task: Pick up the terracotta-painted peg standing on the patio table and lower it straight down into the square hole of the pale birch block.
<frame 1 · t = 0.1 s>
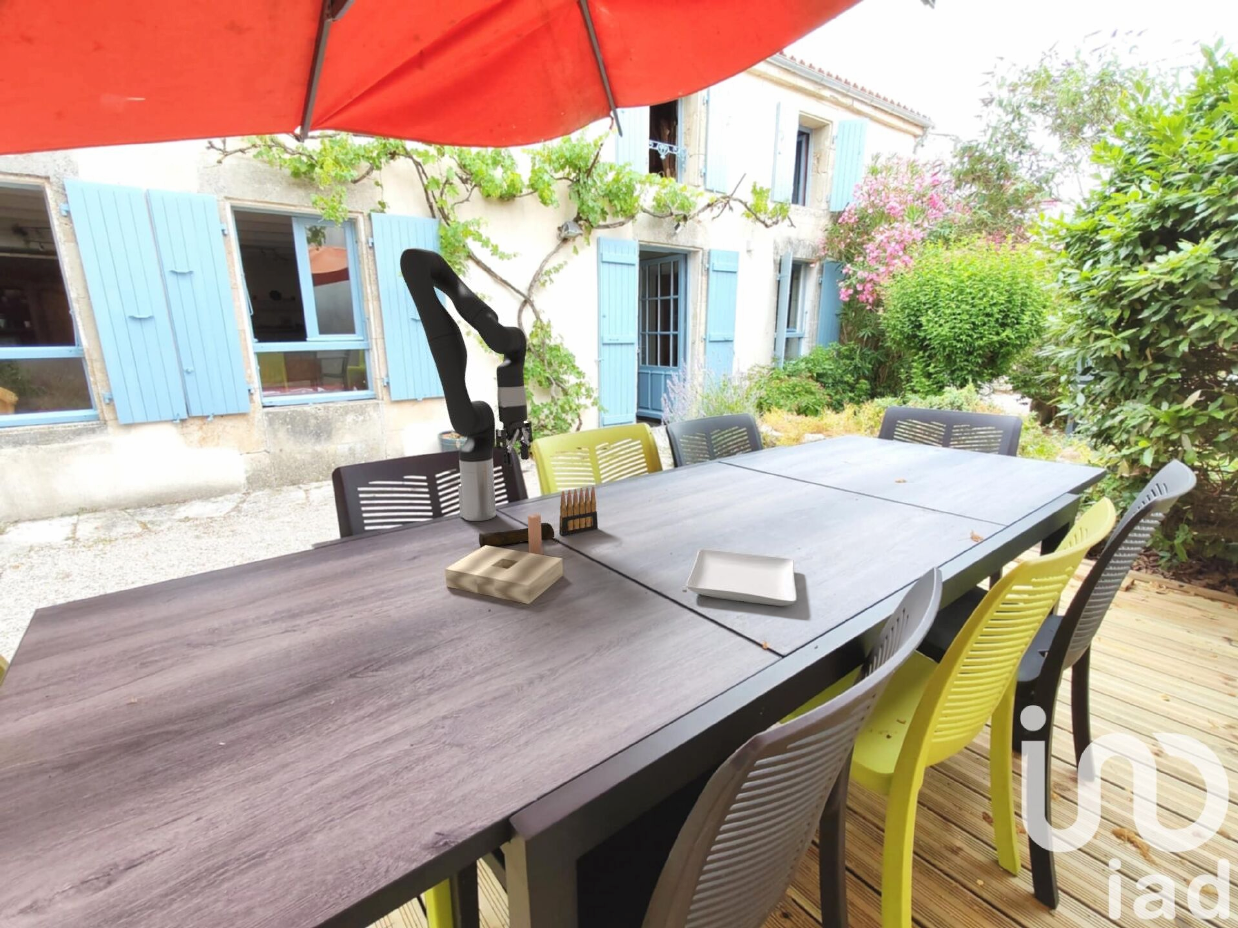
hand: (516, 462, 149), 17 cm above the table, tool pointing down, fingers open, 8 cm apart
ammunition clip: (578, 532, 146), on the table
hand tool: (517, 543, 139), on the table
hole block: (505, 580, 117), on the table
salad plate: (741, 586, 116), on the table
peg: (535, 556, 130), on the table
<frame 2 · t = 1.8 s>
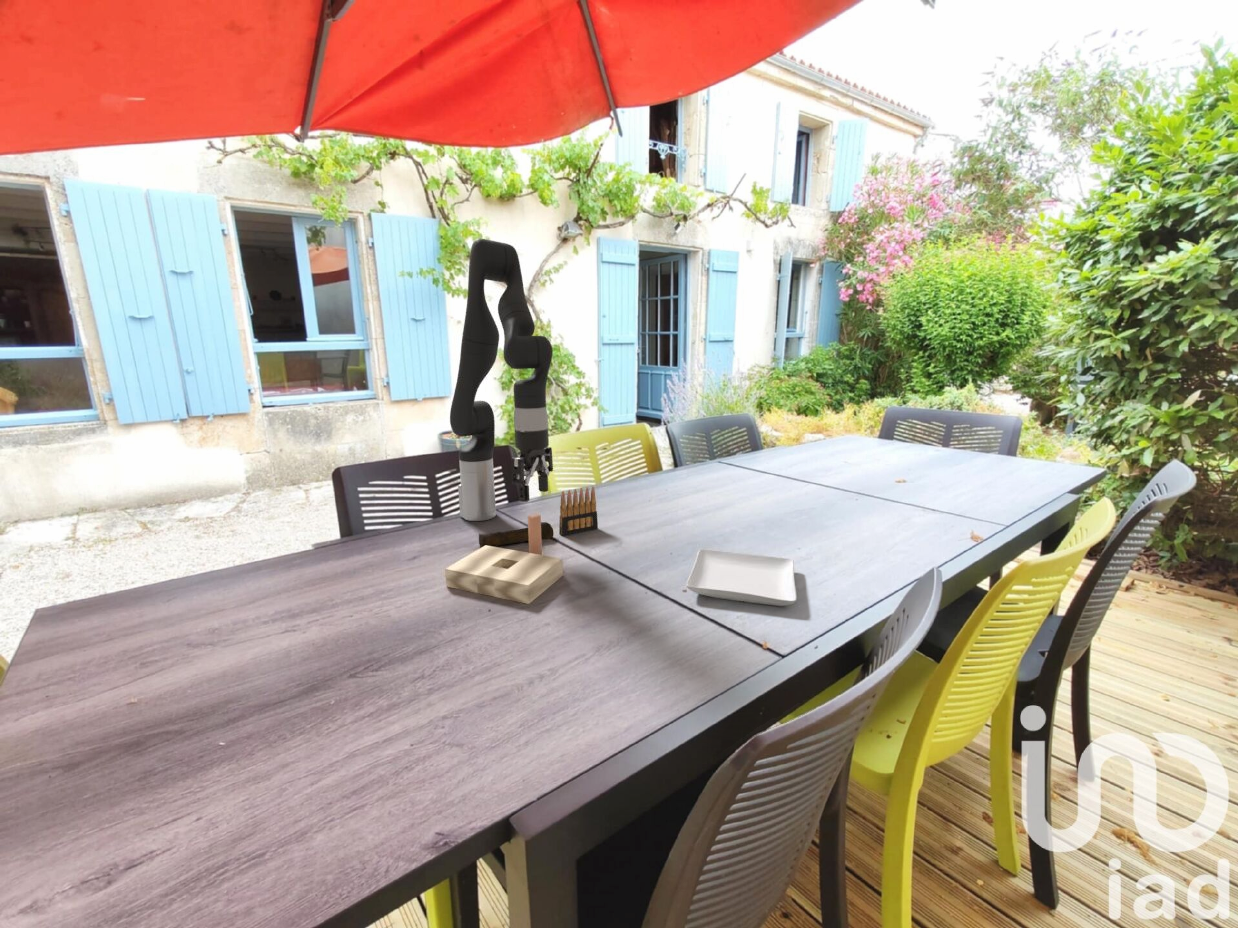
hand: (534, 496, 126), 15 cm above the table, tool pointing down, fingers open, 8 cm apart
nothing on the table moved.
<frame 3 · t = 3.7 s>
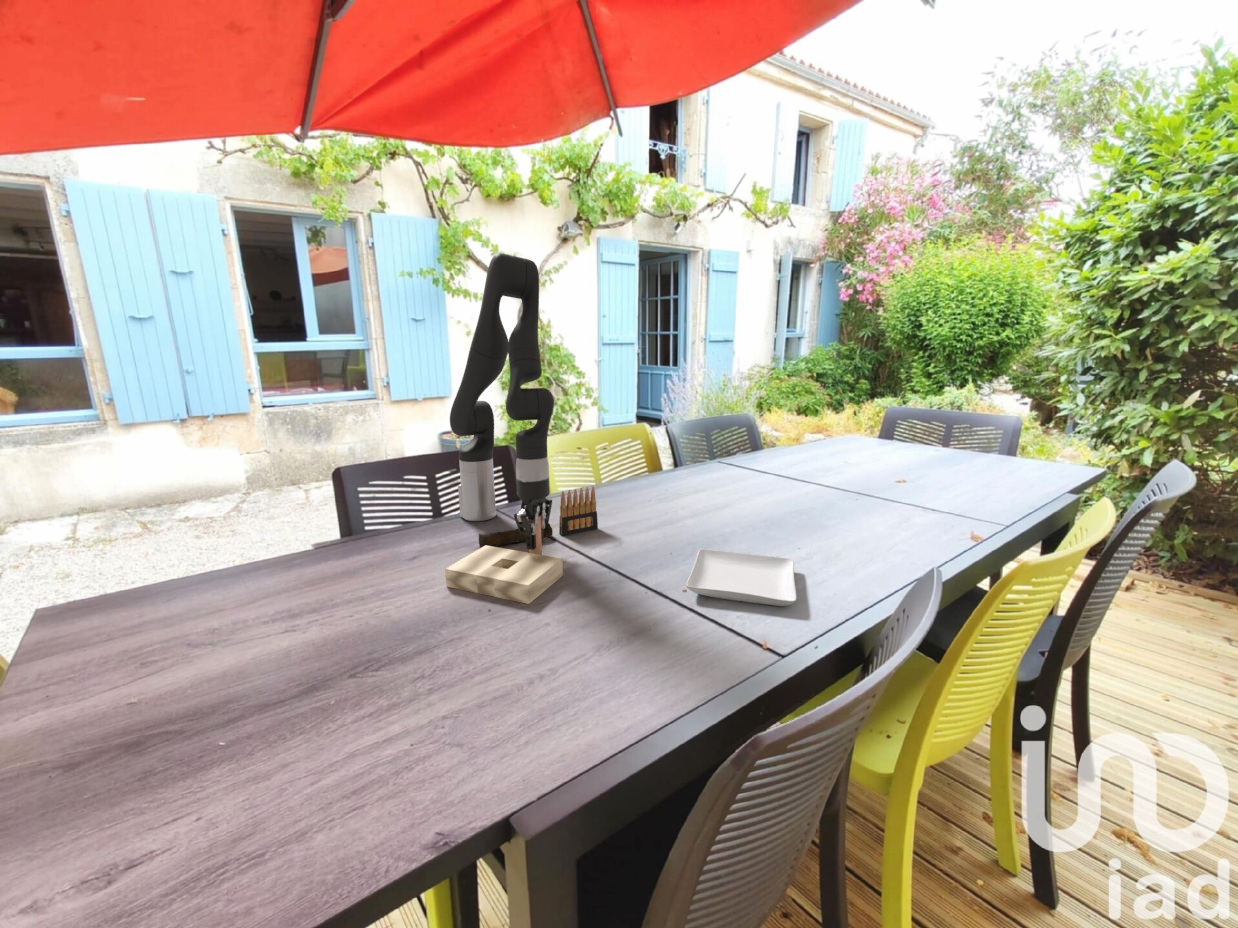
hand: (535, 545, 129), 3 cm above the table, tool pointing down, fingers closed on peg, 3 cm apart
peg: (535, 556, 130), on the table, touching gripper
everything else where it was.
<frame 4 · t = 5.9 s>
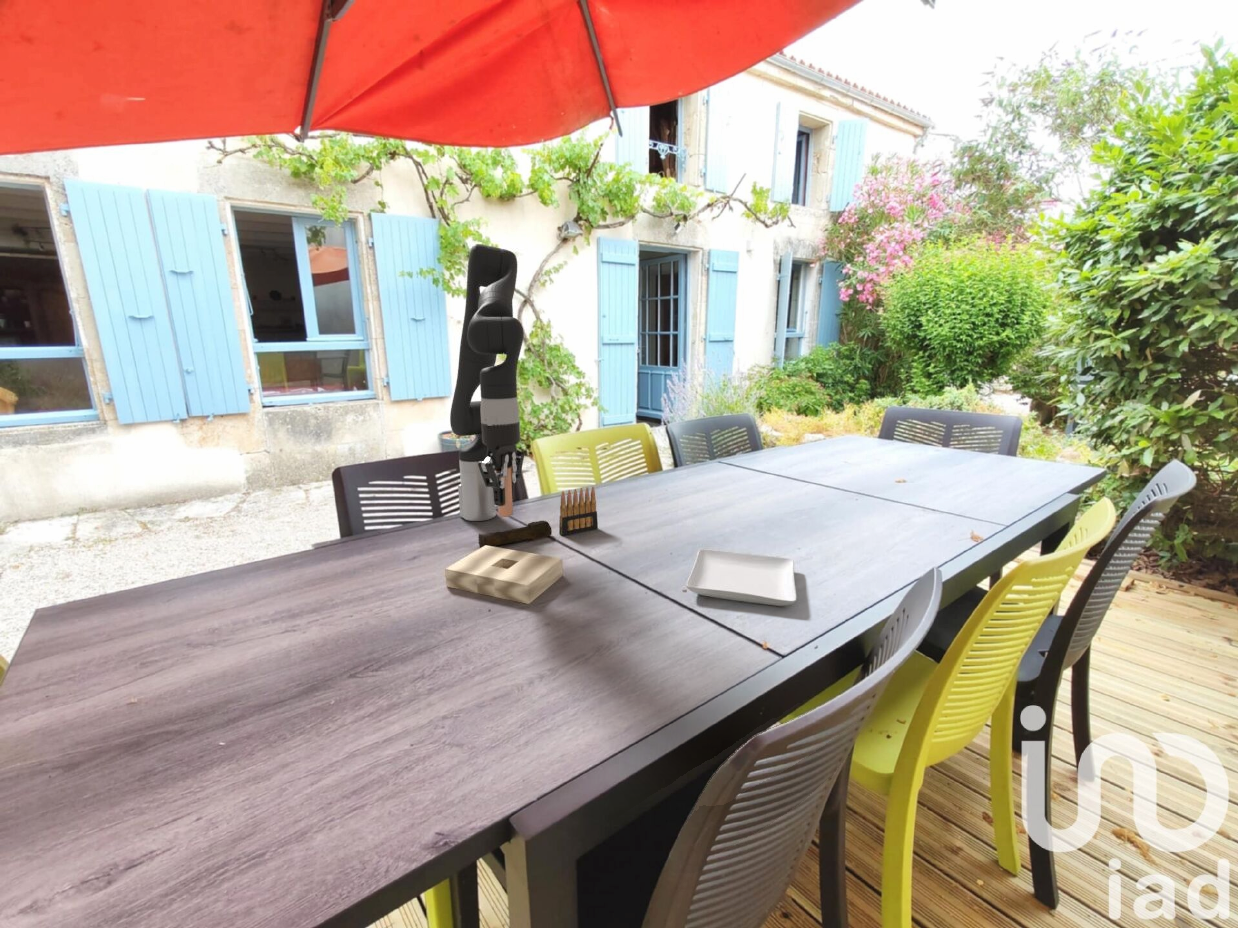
hand: (504, 502, 113), 18 cm above the table, tool pointing down, fingers closed on peg, 3 cm apart
peg: (505, 514, 114), point 15 cm above the table, touching gripper
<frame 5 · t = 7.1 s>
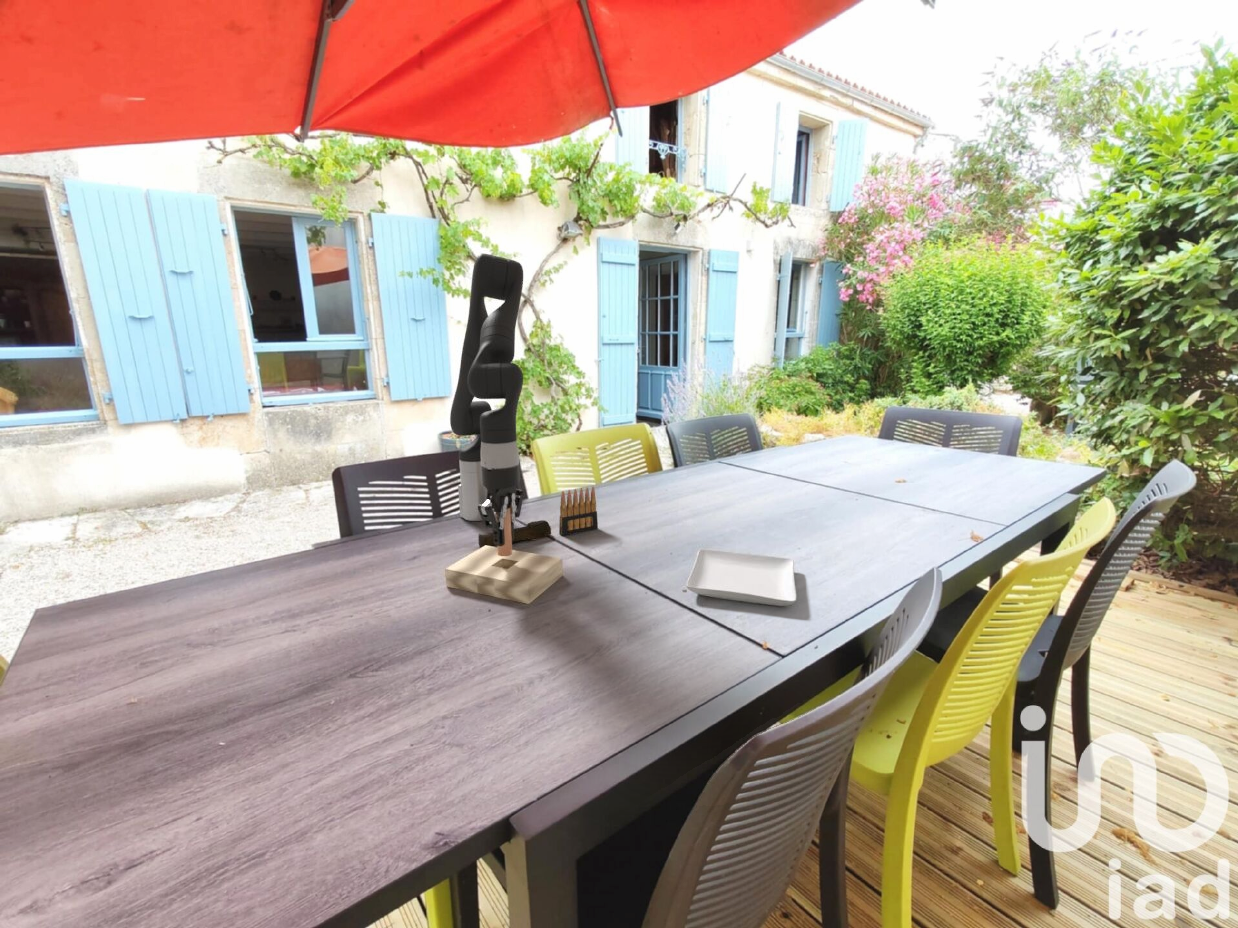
hand: (504, 541, 115), 9 cm above the table, tool pointing down, fingers closed on peg, 3 cm apart
peg: (505, 553, 115), point 6 cm above the table, touching gripper
when the fingers open (5 cm above the table, at t = 8.1 s): peg drops 2 cm, resting in hole block.
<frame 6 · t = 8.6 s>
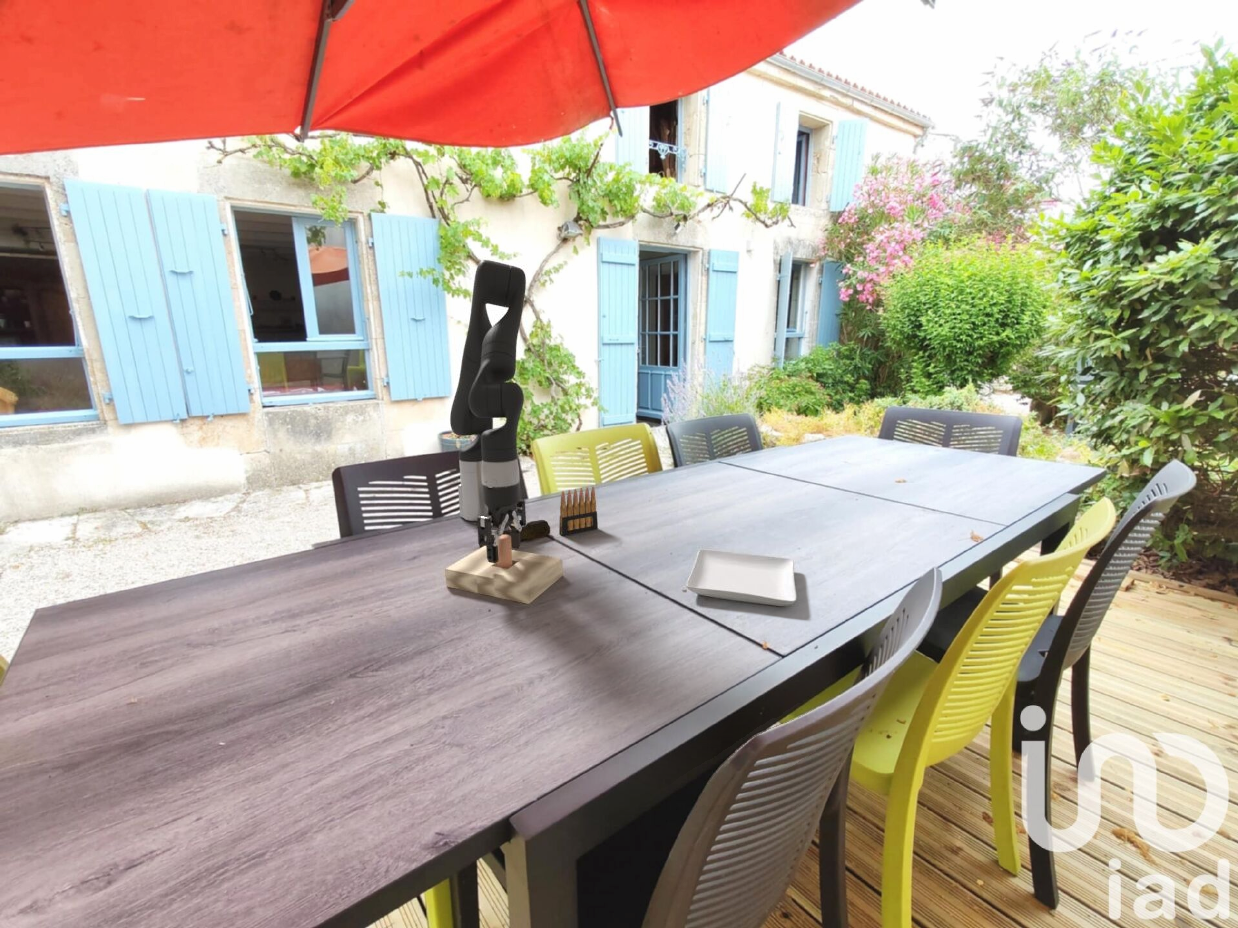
hand: (504, 554, 115), 6 cm above the table, tool pointing down, fingers open, 8 cm apart
peg: (506, 581, 117), resting in hole block
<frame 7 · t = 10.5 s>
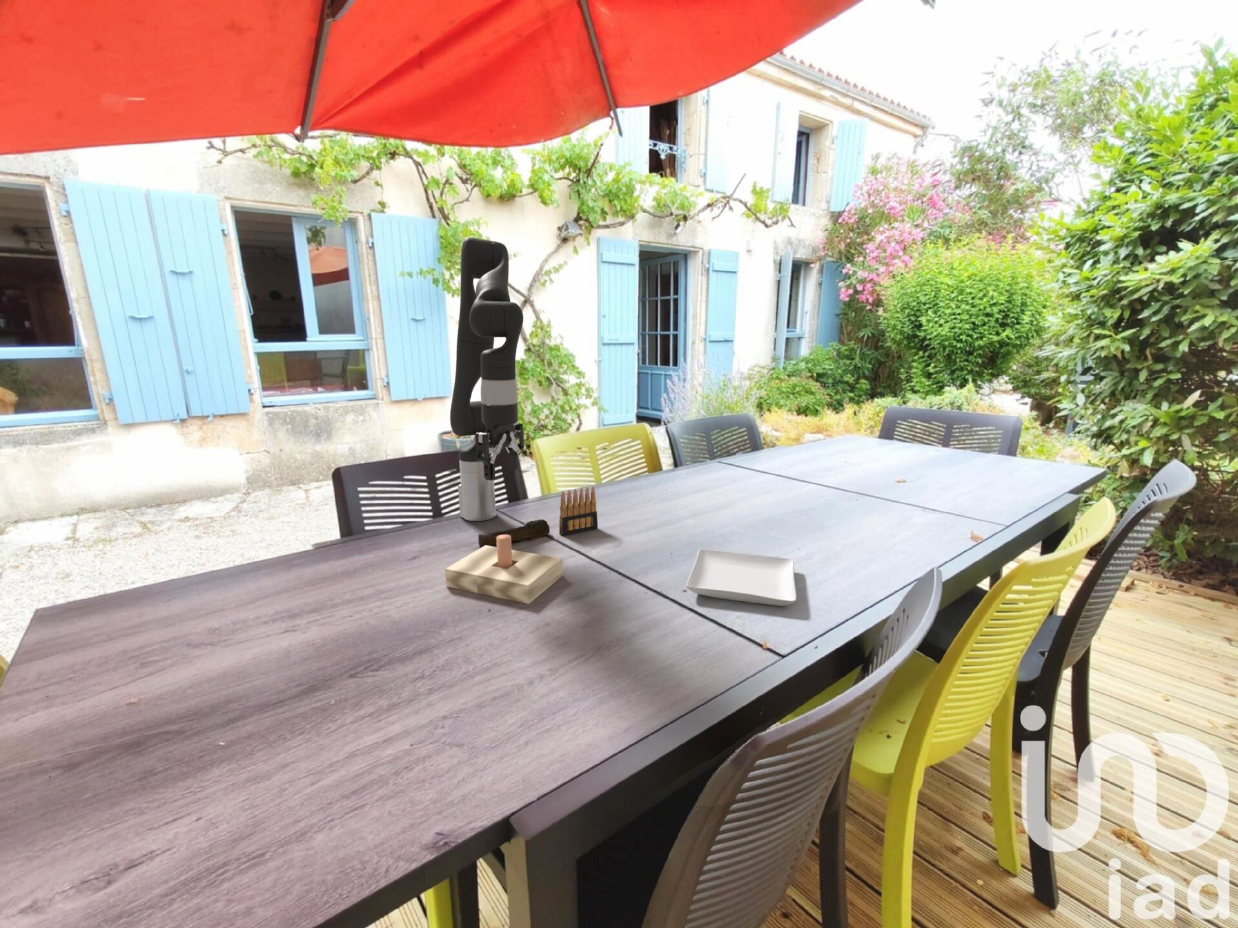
hand: (501, 474, 119), 22 cm above the table, tool pointing down, fingers open, 8 cm apart
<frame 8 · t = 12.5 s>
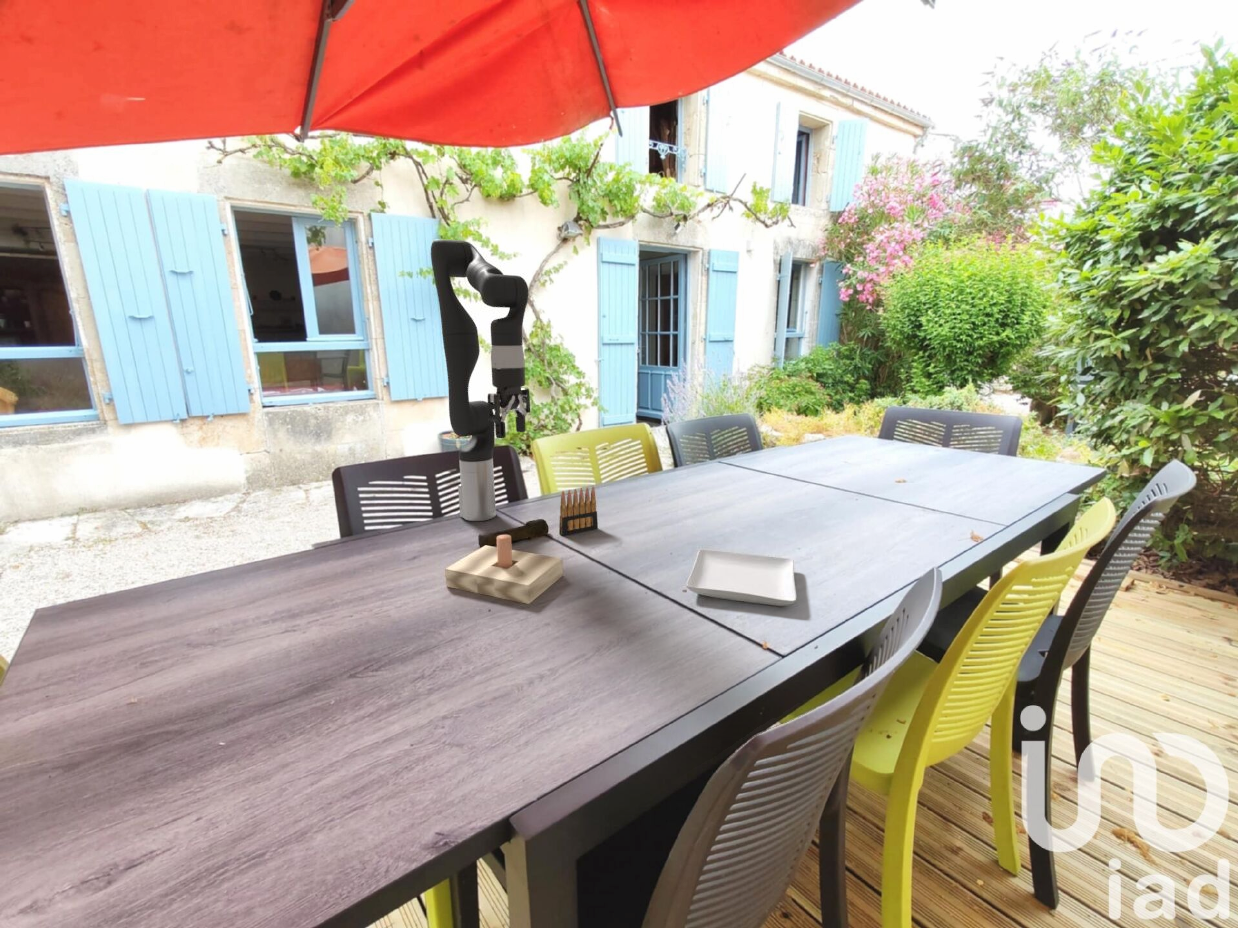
hand: (511, 434, 130), 28 cm above the table, tool pointing down, fingers open, 8 cm apart
at the end: peg 0.1 cm off-centre on the hole block, point 0.0 cm above the hole block's base; peg tilted 0°; the gripper is holding nothing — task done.
